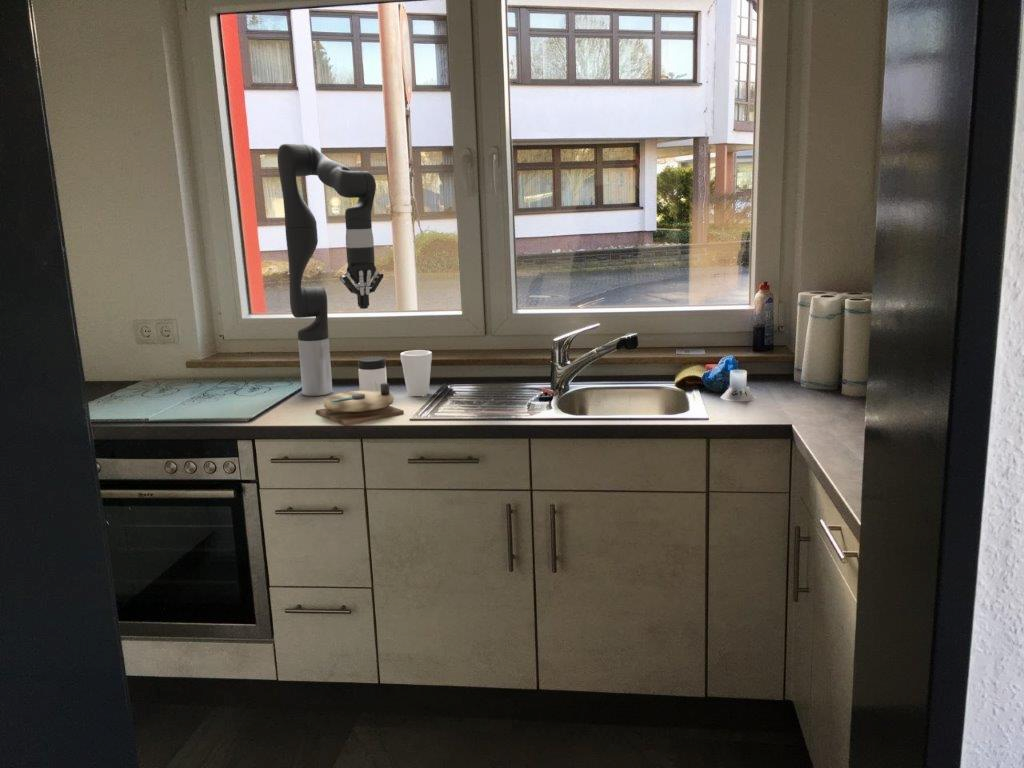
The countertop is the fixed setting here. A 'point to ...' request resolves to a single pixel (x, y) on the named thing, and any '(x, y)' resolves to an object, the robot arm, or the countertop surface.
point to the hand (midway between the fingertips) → (363, 308)
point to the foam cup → (416, 371)
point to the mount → (359, 415)
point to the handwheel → (360, 400)
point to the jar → (372, 373)
